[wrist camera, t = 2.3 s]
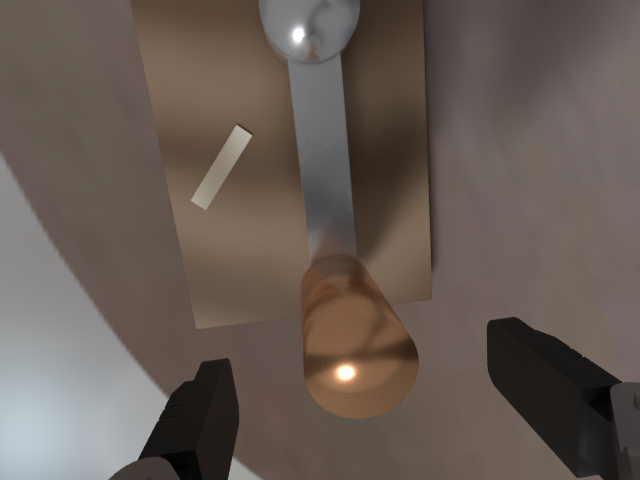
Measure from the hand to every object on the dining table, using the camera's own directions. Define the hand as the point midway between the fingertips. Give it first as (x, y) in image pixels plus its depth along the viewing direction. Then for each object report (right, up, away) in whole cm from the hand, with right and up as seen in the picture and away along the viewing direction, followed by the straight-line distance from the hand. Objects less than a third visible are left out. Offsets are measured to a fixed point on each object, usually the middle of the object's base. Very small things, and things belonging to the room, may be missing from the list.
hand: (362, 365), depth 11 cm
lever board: (-2, +8, +7) cm, 11 cm away
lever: (-1, +7, +5) cm, 9 cm away
